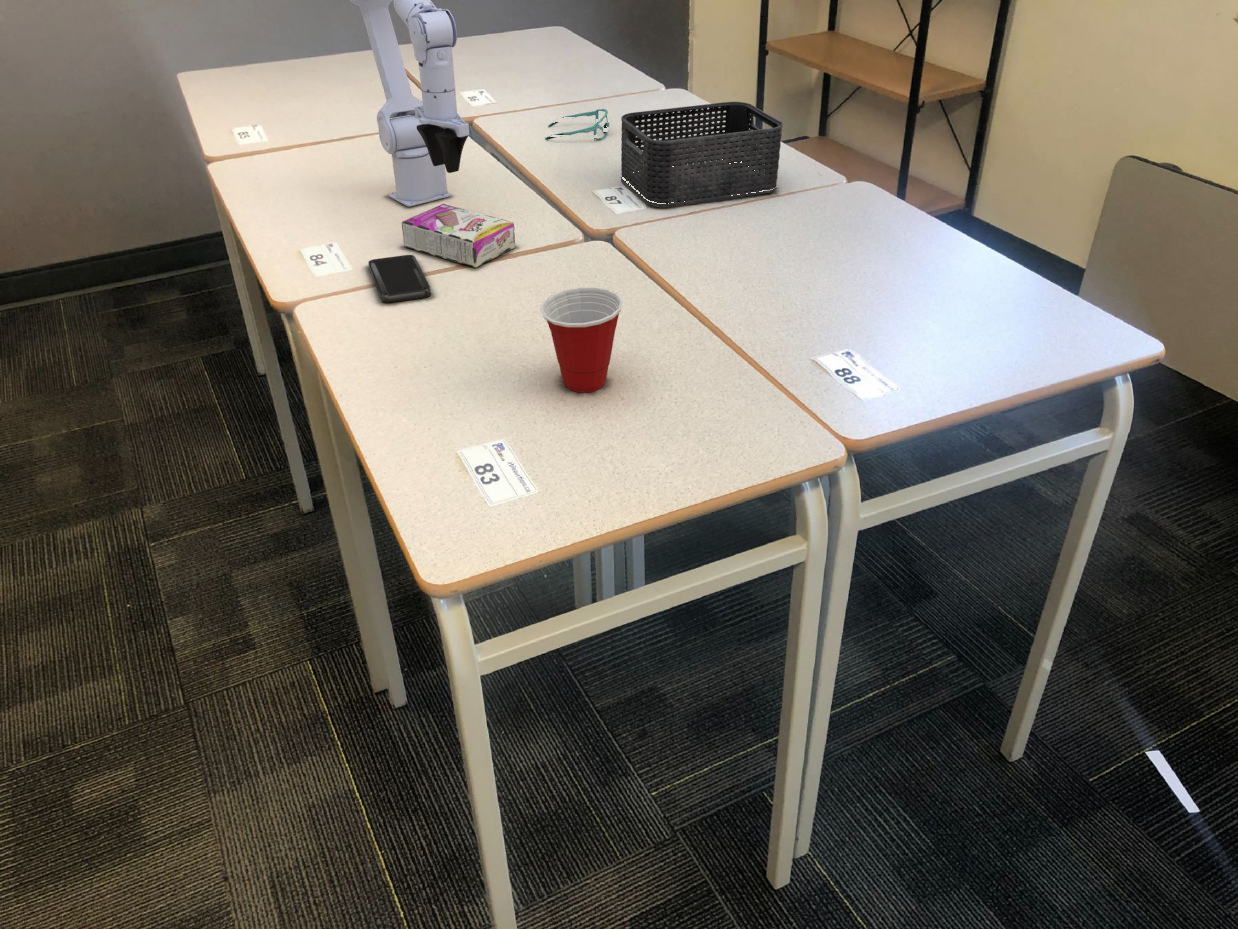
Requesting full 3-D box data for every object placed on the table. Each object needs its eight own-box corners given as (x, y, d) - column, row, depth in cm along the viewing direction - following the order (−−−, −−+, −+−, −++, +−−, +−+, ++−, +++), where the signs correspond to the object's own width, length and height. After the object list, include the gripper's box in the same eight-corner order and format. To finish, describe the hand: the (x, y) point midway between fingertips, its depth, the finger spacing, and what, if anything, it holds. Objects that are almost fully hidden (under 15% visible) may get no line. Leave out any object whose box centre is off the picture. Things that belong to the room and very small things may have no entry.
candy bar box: (442, 201, 171) (515, 221, 164) (444, 227, 174) (516, 248, 167) (399, 220, 163) (474, 241, 156) (402, 247, 166) (476, 269, 159)
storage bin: (651, 210, 182) (653, 140, 174) (615, 178, 197) (616, 112, 189) (782, 193, 191) (790, 125, 183) (738, 164, 205) (744, 99, 197)
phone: (381, 297, 148) (367, 259, 159) (382, 303, 148) (368, 266, 160) (432, 289, 150) (414, 253, 161) (432, 296, 151) (415, 259, 162)
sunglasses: (609, 143, 216) (607, 120, 213) (544, 148, 217) (541, 126, 214) (611, 125, 227) (609, 103, 224) (549, 130, 228) (546, 109, 225)
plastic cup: (542, 363, 134) (538, 285, 127) (618, 361, 135) (619, 283, 128) (543, 404, 125) (540, 322, 118) (625, 401, 126) (626, 320, 119)
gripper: (395, 83, 164) (405, 162, 172) (440, 101, 155) (448, 183, 163) (431, 77, 168) (438, 154, 176) (477, 94, 159) (482, 175, 167)
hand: (445, 168), depth 170 cm, fingers open, 4 cm apart
